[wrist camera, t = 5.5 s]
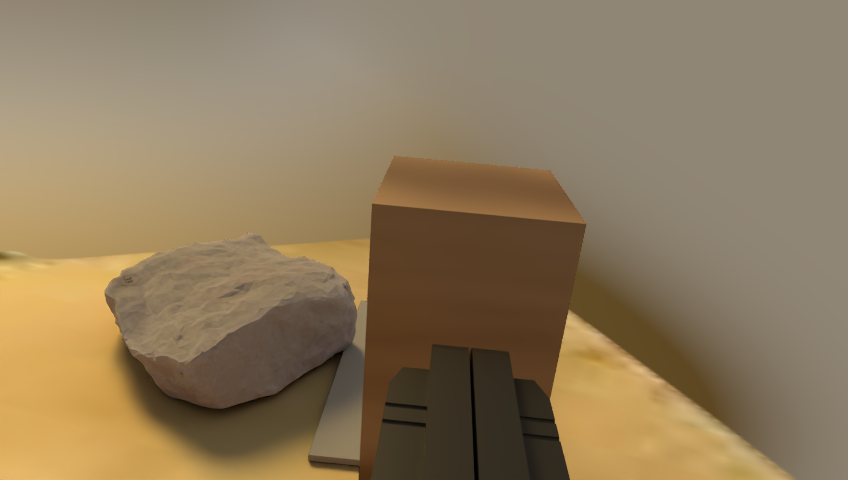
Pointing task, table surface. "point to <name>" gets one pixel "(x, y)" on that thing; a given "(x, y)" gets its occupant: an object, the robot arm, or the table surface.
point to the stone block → (231, 318)
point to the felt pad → (344, 405)
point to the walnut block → (465, 273)
